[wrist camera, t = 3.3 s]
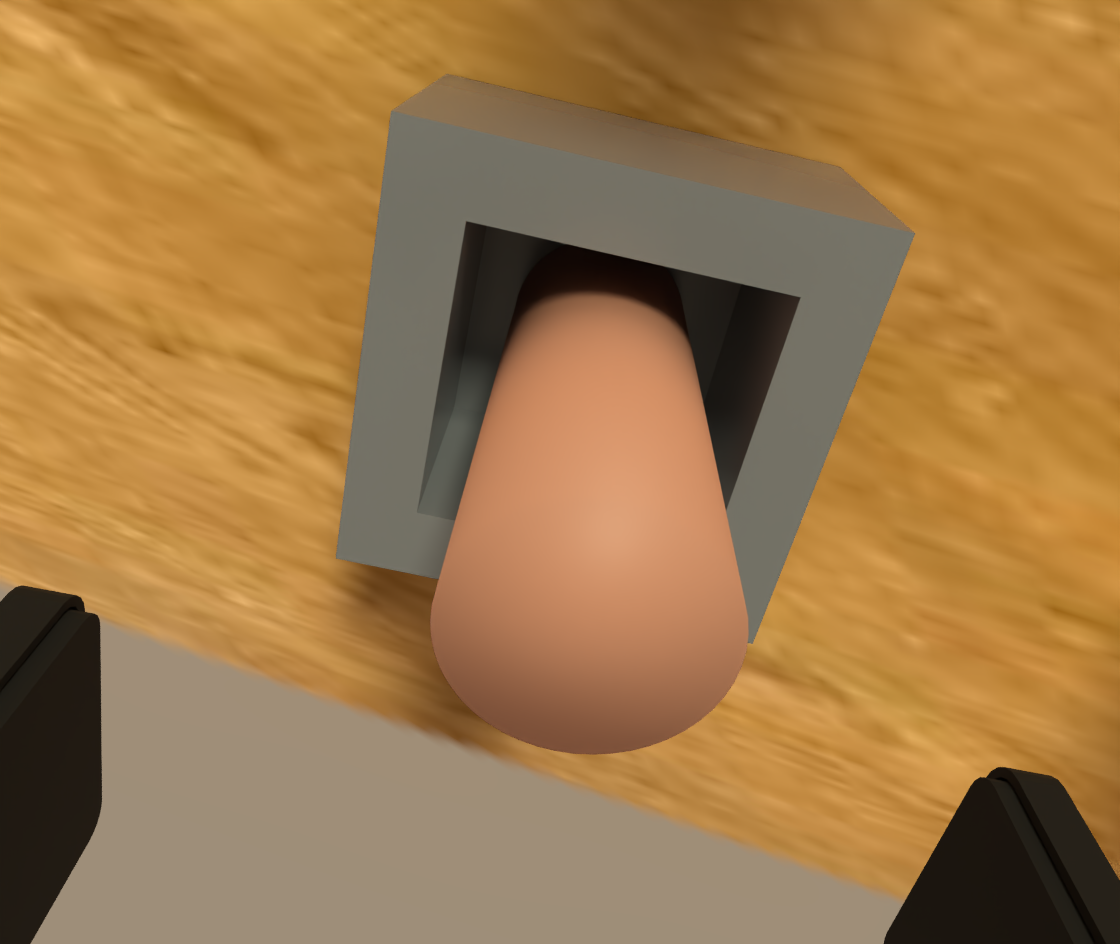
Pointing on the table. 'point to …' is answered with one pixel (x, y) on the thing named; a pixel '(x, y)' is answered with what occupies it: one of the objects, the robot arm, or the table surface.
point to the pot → (624, 230)
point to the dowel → (592, 523)
